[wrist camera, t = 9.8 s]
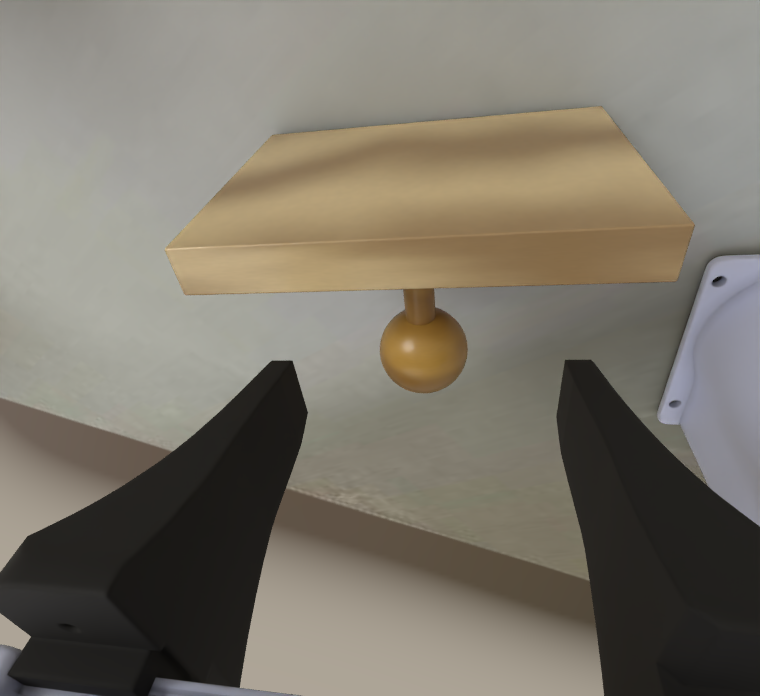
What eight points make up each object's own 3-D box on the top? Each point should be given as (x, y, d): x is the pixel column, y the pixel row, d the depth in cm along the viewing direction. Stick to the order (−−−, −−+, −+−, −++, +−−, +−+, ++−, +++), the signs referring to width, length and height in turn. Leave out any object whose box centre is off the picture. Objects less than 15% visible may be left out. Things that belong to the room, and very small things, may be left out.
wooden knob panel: (602, 105, 17) (576, 267, 21) (271, 134, 19) (306, 276, 23) (696, 224, 10) (631, 430, 14) (163, 248, 12) (240, 422, 16)
